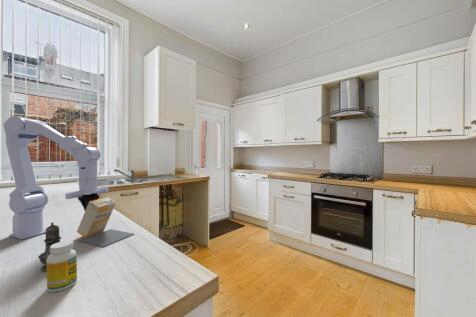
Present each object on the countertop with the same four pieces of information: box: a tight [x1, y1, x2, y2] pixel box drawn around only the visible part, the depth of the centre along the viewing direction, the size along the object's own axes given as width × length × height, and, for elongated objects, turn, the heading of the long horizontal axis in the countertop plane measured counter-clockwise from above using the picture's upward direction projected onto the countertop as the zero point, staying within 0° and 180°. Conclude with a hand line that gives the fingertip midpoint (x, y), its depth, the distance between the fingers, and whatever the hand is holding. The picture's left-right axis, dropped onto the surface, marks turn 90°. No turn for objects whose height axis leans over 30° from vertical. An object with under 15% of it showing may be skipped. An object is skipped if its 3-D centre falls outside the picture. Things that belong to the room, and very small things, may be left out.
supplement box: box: [76, 196, 117, 238], centre depth 80 cm, size 8×5×13 cm, turn 167°
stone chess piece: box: [37, 222, 62, 273], centre depth 57 cm, size 6×6×12 cm
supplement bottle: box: [46, 240, 78, 293], centre depth 49 cm, size 5×5×10 cm
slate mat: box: [77, 228, 135, 248], centre depth 77 cm, size 13×12×1 cm
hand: (89, 214), depth 81 cm, fingers closed
